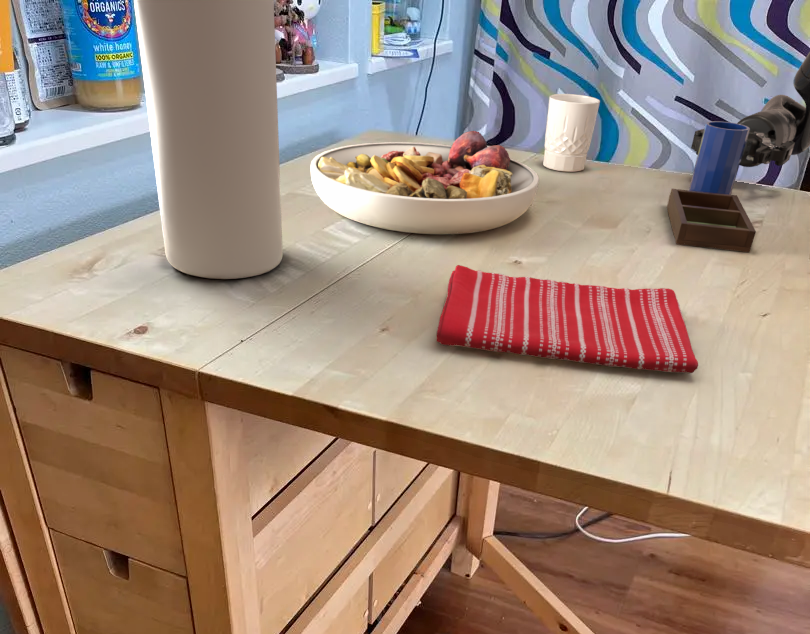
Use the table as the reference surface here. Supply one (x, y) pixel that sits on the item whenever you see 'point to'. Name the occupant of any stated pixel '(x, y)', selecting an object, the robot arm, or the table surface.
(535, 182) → the bowl
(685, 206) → the holder
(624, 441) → the table surface
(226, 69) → the cylinder vase
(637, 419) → the table surface
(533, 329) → the dish towel
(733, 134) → the cup
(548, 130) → the white cup
